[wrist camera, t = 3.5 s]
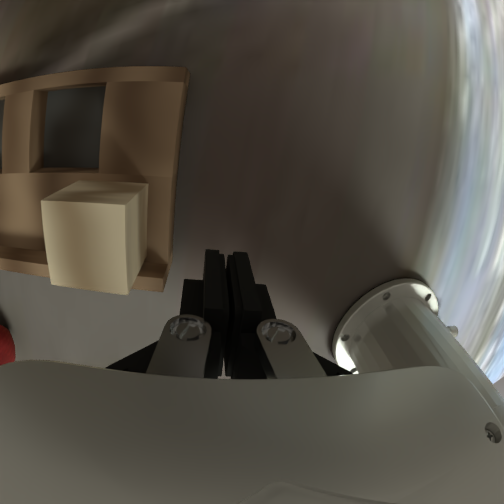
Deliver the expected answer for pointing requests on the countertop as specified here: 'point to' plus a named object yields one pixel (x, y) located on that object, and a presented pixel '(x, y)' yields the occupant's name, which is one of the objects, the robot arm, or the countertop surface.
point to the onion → (6, 346)
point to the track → (90, 153)
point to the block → (96, 235)
